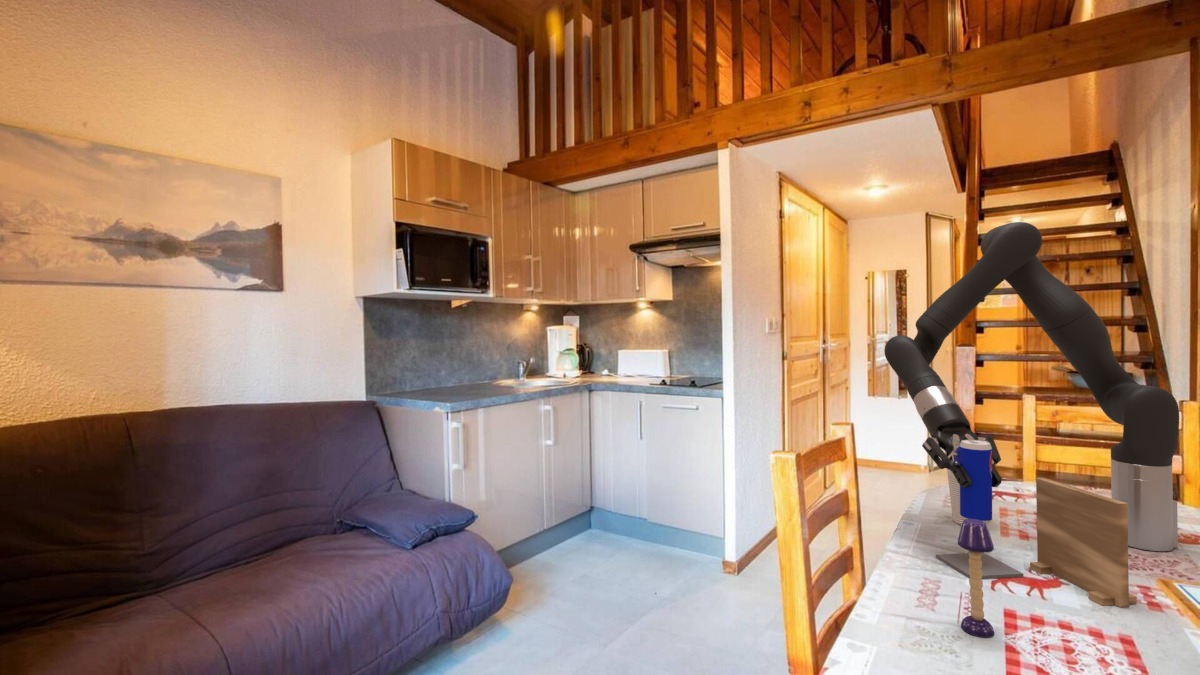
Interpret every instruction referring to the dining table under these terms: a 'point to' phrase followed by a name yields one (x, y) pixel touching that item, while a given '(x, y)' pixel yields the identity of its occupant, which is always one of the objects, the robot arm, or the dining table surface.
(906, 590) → the dining table surface
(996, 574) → the felt pad
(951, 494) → the cup
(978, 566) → the toy lamp
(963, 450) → the beverage can
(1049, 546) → the oak board
